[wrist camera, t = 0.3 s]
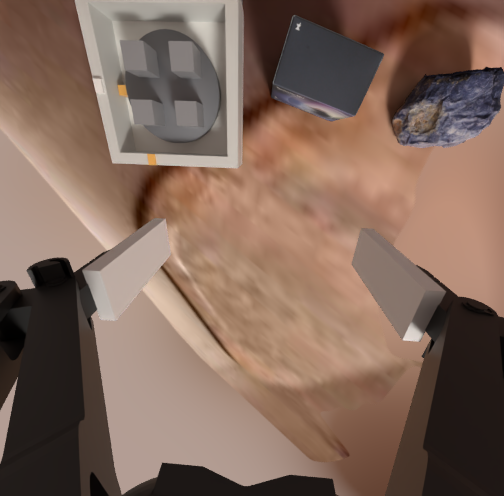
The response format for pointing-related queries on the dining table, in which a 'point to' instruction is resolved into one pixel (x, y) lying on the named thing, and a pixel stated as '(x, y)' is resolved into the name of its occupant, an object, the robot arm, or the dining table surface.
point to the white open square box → (113, 72)
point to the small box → (323, 71)
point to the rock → (449, 108)
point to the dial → (170, 85)
